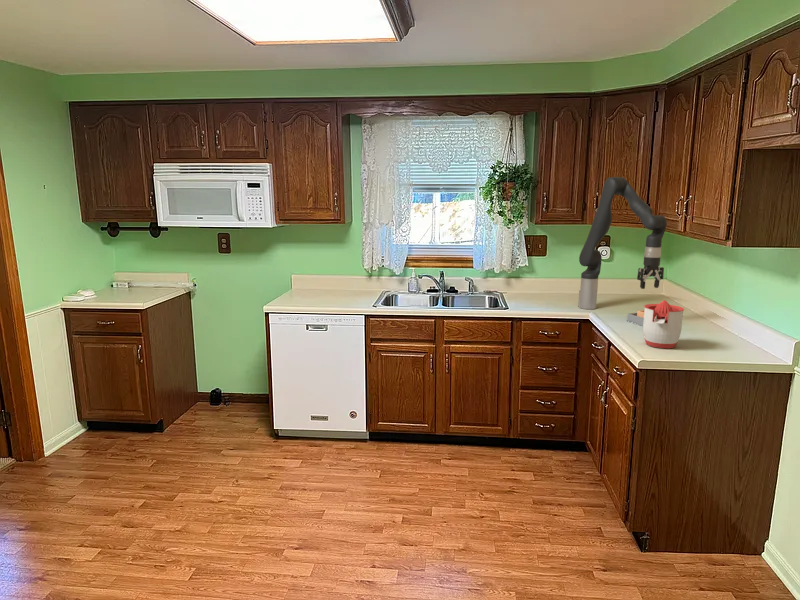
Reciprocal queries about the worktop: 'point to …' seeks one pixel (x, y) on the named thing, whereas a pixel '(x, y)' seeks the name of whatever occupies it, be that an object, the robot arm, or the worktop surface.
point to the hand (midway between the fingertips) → (649, 288)
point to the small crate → (640, 313)
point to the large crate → (635, 318)
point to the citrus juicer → (662, 324)
